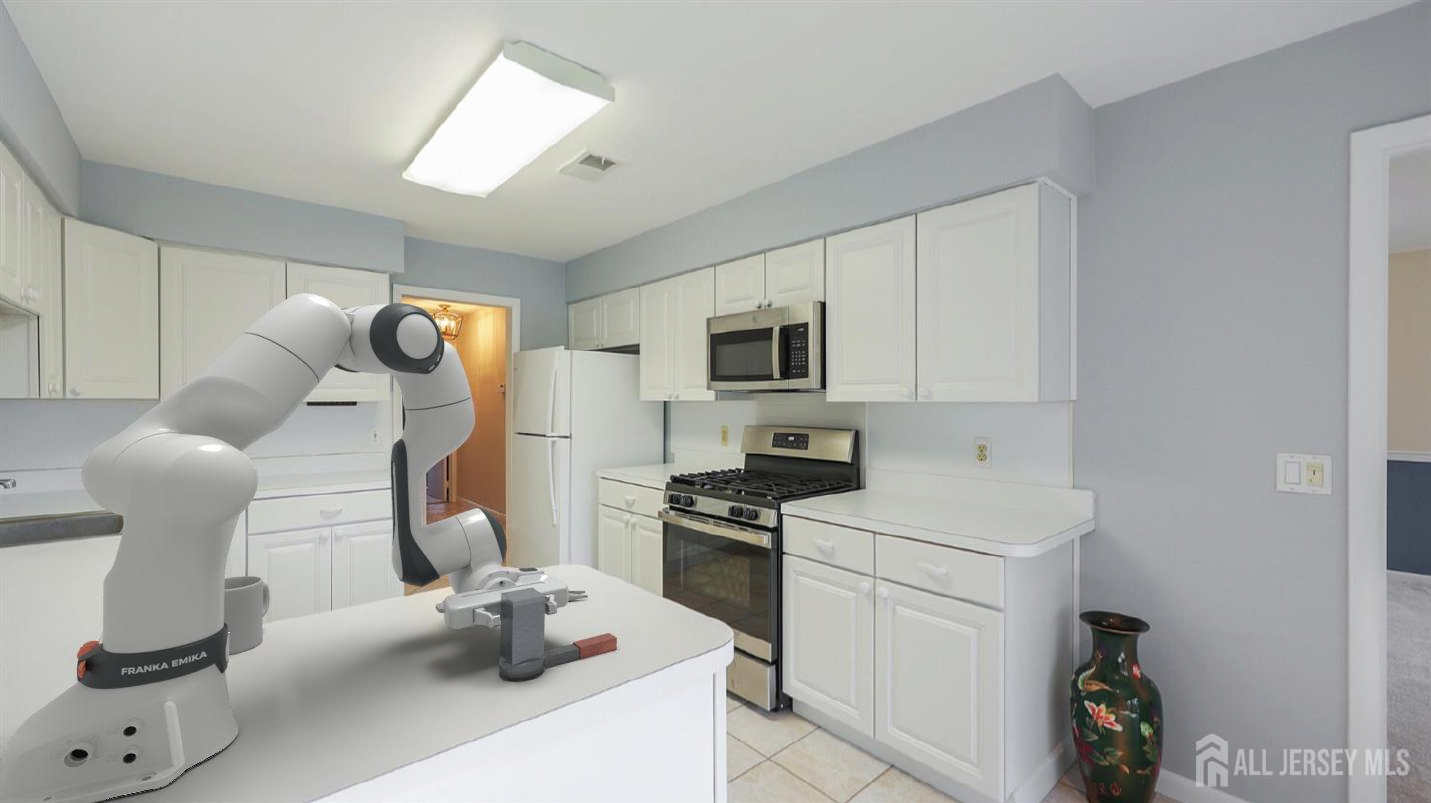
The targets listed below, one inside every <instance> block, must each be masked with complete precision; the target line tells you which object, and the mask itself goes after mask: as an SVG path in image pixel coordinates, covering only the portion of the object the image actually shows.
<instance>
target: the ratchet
mask: <svg viewBox="0 0 1431 803" xmlns="http://www.w3.org/2000/svg"><path fill="white" fill-rule="evenodd" d="M617 648H618V637H616V636H615V635H613V634H611V632H607V633H603V634H599V635H596V636H592V637H588V638H583V639H579V640H576V641H573V642H572V644H568V645H564V646H559V647H556V648H551V649H548V650H544V658H542V659H538V660H534V661H531V662H527V663H523V664H519V665H516V666H511V665H510V664H509V663H508V662H507V661H506V660H505V659H504V658H503V657H502V656H500V657H499V659H498V660H499V662H498V666H499V667H498V668H499V669H498V675H499V677H500V678H501V679H502V680H504V681H507V682H525V681H530V680H534V679H537V678H538V677H540V676H542V675H543V674H544V673H545V670H546V669H548V668H551V667H555V666H559V665H562V664H563V665H564V664H566V663H570V662H574V661H577V660H582V659H583V660H584V659H586V658H591V657H594V656H597V655H602V654H604V653H607V652H611V651H615V650H617Z"/></svg>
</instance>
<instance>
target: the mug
mask: <svg viewBox="0 0 1431 803" xmlns="http://www.w3.org/2000/svg"><path fill="white" fill-rule="evenodd" d="M269 588H270V587H269V585H268V584H267V583H266V582H265V581H264V580H263V578H262V577H260V576H255V575H254V576H253V575H244V576H243V575H242V576H233V577H232V576H231V577H225V592H224V622H225V623H226V624H227V626H228V632H230V633H229V656H231V655H235V654H240V653H243V652H247V651H249V650H252V649H253V648H256V647H258V646H259V645H261V643H262V641H263V639H264V638H263V636H264V634H263V630H264V629H263V626H262V625H264V624H263V620H264V619H263V618H264V617H265V616H266V614H267V613H268V610H269V608H270V599H271V595H270V594H271V592H270V589H269Z"/></svg>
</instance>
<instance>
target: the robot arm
mask: <svg viewBox="0 0 1431 803" xmlns="http://www.w3.org/2000/svg"><path fill="white" fill-rule="evenodd" d="M457 351H458V350H456V348H455V347H454V346H453V344H451V343H450V342H449V341H448V342H447V341H445V339H444V337H443V335H442V332H441V330H440V327H439V324H437V322H436V320H435V319H434V317H433V316H432V315H431V314H430V313H429V312H428V311H427V310H425V309H423V308H422V307H420V306H418V305H413V304H410V303H402V302H395V303H389V304H388V303H370V304H369V303H368V304H363V305H358V306H353V307H346V308H345V307H344V308H340V307H339V306H338V305H337V304H336V303H335V302H333V301H332V300H330V299H328V298H326V297H323V296H321V295H319V294H314V293H310V292H309V293H307V292H302V293H296V294H294V295H291V296H290V297H288V298H286V299H285V300H283V301H282V302H279V303H278V304H277V305H275V306H274V307H272V308H271V309H269V310H268V311H267V312H265V313H264V314H263V315H261V316H260V317H258V318H257V319H256V320H255V321H254V322H252V323H251V324H250V325H249V326H248V327H247V328H246V329H245V330H244V331H242V333H240V335H238V336H237V337H236V338H235V339H234V340H233V341H232V342H231V343H230V344H229V345H228V346H227V347H225V349H224V350H222V351H221V353H219V355H218V356H216V358H214V359H213V360H212V361H211V362H210V363H209V364H208V365H207V366H206V367H205V368H204V369H203V370H202V371H201V372H200V373H199V374H197V375H196V376H195V377H194V378H193V379H191V380H190V381H189V382H188V383H186V384H185V385H184V386H182V387H181V388H179V389H178V390H177V391H175V392H174V393H173V394H171V395H170V396H168V397H167V398H165V399H164V400H162V401H161V402H160V403H158V404H157V405H155V406H154V407H152V408H151V409H150V410H148V411H147V412H146V413H145V414H142V415H141V416H140V417H139V418H138V419H136V420H135V421H133V422H132V423H131V424H130V425H129V426H127V427H126V428H125V429H124V430H122V431H121V432H119V433H118V434H117V435H114V436H113V437H111V438H110V439H108V440H105V441H104V442H102V443H100V444H99V445H98V446H96V447H95V448H94V449H92V450H91V452H90V453H89V454H88V455H87V457H85V460H84V462H83V464H82V467H81V477H80V478H81V481H82V485H83V487H84V489H85V490H86V492H87V494H88V495H89V496H90V497H91V499H92V500H93V501H94V502H95V503H96V504H97V505H99V506H100V507H101V508H103V509H104V510H106V511H107V512H109V513H113V514H115V515H118V516H122V519H123V526H122V527H123V528H122V532H121V533H122V534H121V538H120V542H119V545H118V549H117V552H116V556H115V559H114V562H113V565H112V566H111V568H110V570H109V571H108V572H107V574H106V575H105V578H104V580H103V586H102V588H103V589H102V590H103V591H102V592H103V594H102V595H103V596H102V597H103V598H102V599H103V600H102V643H100V641H98V640H89V641H87V642H85V643H83V644H82V646H80V648H79V650H78V651H77V653H76V658H77V665H76V680H77V681H76V683H75V684H73V685H72V686H70V687H69V688H68V689H66V690H65V691H64V692H62V693H60V695H58V696H57V697H55V698H54V699H52V700H51V701H50V702H49V703H47V704H46V705H44V706H43V707H41V708H39V710H37V711H35V712H34V713H33V714H32V715H30V716H29V717H28V718H27V719H25V720H24V722H23V723H22V724H21V725H20V726H19V727H18V728H17V730H16V731H15V732H14V733H13V735H12V737H11V738H10V740H9V741H8V744H7V746H6V747H5V750H4V752H3V753H4V754H3V755H2V759H1V763H0V803H98V802H103V801H106V799H107V800H111V798H112V799H114V798H113V797H116V798H118V797H117V796H120V795H124V794H129V793H133V792H138V791H139V793H141V792H140V791H144V790H149V789H153V790H156V789H160V787H161V788H164V787H166V786H168V785H170V784H171V783H173V782H174V781H175V780H174V779H176V778H177V777H178V776H179V777H181V776H182V775H183V774H184V773H185V772H184V771H185V770H186V769H187V768H190V767H191V766H193V765H195V764H197V763H199V762H201V761H202V760H204V759H206V758H208V757H210V756H212V755H214V754H215V753H217V752H218V753H220V752H221V751H223V750H224V749H226V748H227V747H228V746H229V745H230V744H231V743H233V741H234V740H235V739H236V737H237V736H238V734H239V729H240V728H239V725H238V723H237V721H236V718H235V714H234V713H233V709H232V705H231V701H230V695H229V691H228V690H229V689H228V683H227V682H228V681H227V676H226V674H227V673H226V670H227V668H228V664H229V662H230V661H229V660H230V655H229V633H228V626H227V624H226V623H225V622H224V592H225V578H226V570H227V567H226V566H227V562H228V561H227V560H228V555H229V551H230V547H231V544H232V541H233V537H234V534H235V531H236V527H237V524H238V521H239V518H240V515H241V514H242V513H243V512H244V511H246V509H247V508H248V507H249V506H250V505H251V503H252V502H253V500H254V498H255V495H256V493H257V489H258V484H259V483H258V482H259V477H258V472H257V468H256V466H255V465H254V462H253V461H252V459H251V458H249V456H248V455H247V454H246V453H244V452H243V451H244V450H246V449H247V448H248V447H250V446H252V444H254V443H256V442H257V441H259V440H260V439H261V438H263V437H264V438H265V436H267V435H269V434H272V433H274V432H275V431H277V429H280V427H281V426H283V424H285V423H286V422H287V420H288V419H289V418H290V416H291V415H292V414H293V413H294V412H295V411H296V410H297V409H298V408H299V407H300V406H301V405H302V403H303V402H304V401H305V400H306V398H308V396H309V395H310V394H311V393H312V392H313V390H315V388H316V387H317V386H318V385H319V384H320V382H321V381H322V380H323V379H324V378H325V377H326V375H327V374H328V372H329V371H330V370H331V369H333V368H337V369H338V370H341V371H344V372H349V373H356V374H357V373H370V374H375V375H383V374H384V375H385V374H390V375H391V376H392V377H393V379H395V381H396V383H397V384H398V386H399V388H400V393H401V394H400V395H401V399H402V404H403V407H404V413H405V414H404V415H405V416H404V417H405V423H404V429H403V432H402V434H401V437H400V439H398V440H397V441H396V442H394V443H393V446H392V449H391V454H390V488H391V489H390V490H391V493H390V494H391V511H392V512H391V513H392V514H391V515H392V544H391V545H392V546H391V547H392V548H391V563H392V567H393V571H394V573H395V575H396V576H397V578H398V580H399V581H400V582H402V583H404V584H407V585H410V586H414V587H419V588H423V587H426V586H427V585H429V584H431V583H433V582H435V581H437V580H439V579H441V578H442V577H445V576H448V583H449V586H450V587H451V589H452V591H453V593H454V594H450V595H448V596H446V597H444V600H443V601H442V602H439V603H436V604H435V606H434V608H435V611H437V613H439V614H443V621H444V623H445V625H446V627H447V628H448V629H450V630H454V631H456V630H461V629H465V628H467V629H468V628H470V627H475V626H487V627H488V628H490V629H492V628H493V629H494V628H496V627H500V625H501V593H505V592H510V591H516V590H521V589H526V588H534V589H535V590H537V591H539V592H540V593H542V594H543V595H545V615H547V616H551V615H555V614H558V609H559V608H564V607H566V606H567V605H568V603H569V601H568V597H569V591H570V590H569V586H568V584H567V583H566V582H564V581H563V580H561V579H560V578H558V577H556V576H553V575H551V574H546V573H545V570H544V569H543V568H541V567H523V568H522V567H521V568H517V567H512V566H504V565H502V564H504V562H505V559H506V555H507V552H508V544H507V542H508V541H507V537H506V534H505V533H506V532H505V531H504V528H503V526H502V524H501V522H500V521H499V519H498V518H497V517H496V516H495V515H493V514H492V513H491V512H489V511H488V510H486V509H484V508H481V507H475V508H472V509H470V510H467V511H463V512H460V513H457V514H454V515H452V516H450V517H447V518H444V519H440V520H438V521H436V522H432V523H430V524H429V523H428V524H425V525H422V516H421V515H422V514H421V484H422V481H423V479H424V477H425V476H426V475H427V473H428V472H429V471H430V470H431V469H432V468H433V467H434V466H436V465H437V464H438V463H439V462H440V461H442V460H443V459H444V458H446V457H448V456H449V455H452V453H454V452H456V450H458V449H459V448H460V447H461V446H462V445H463V444H464V443H465V442H467V440H468V438H470V436H471V434H472V432H473V430H474V428H475V424H476V412H475V411H476V410H475V407H474V406H475V405H474V401H473V397H472V392H471V387H470V384H469V380H468V377H467V374H466V371H465V368H464V365H463V363H462V360H461V357H460V356H459V353H458V352H457ZM222 749H223V750H222ZM219 751H220V752H219ZM218 753H217V754H218ZM215 755H216V754H215ZM215 755H214V756H215ZM212 757H213V756H212ZM210 758H211V757H210ZM208 759H209V758H208ZM206 760H207V759H206ZM201 763H202V762H201ZM199 764H200V763H199ZM197 765H198V764H197ZM195 766H196V765H195ZM193 767H194V766H193ZM191 768H192V767H191ZM191 768H190V769H191ZM183 772H184V773H183ZM182 773H183V774H182ZM181 774H182V775H181ZM180 775H181V776H180ZM179 777H178V778H179ZM178 778H177V779H178ZM177 779H176V780H177ZM173 780H174V781H173ZM172 781H173V782H172ZM170 782H171V783H170ZM169 783H170V784H169ZM149 791H150V790H149ZM144 792H145V791H144ZM109 798H110V799H109Z"/></svg>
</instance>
